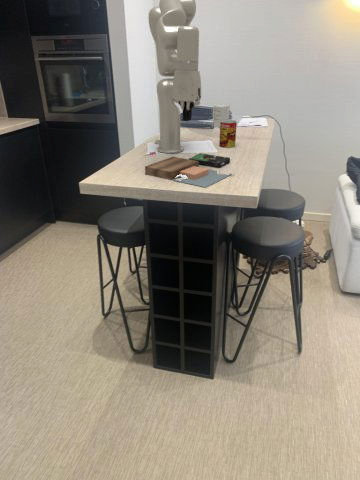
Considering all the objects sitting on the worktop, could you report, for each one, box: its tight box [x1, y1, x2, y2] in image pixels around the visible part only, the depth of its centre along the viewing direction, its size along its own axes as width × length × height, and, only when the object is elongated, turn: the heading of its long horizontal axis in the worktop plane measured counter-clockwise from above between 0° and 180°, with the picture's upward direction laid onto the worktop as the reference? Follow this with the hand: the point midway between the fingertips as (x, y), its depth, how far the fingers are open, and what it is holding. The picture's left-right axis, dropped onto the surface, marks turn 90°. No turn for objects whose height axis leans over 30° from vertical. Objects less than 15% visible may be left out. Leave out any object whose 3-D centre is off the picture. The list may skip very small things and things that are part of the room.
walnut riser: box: [144, 156, 200, 181], centre depth 147 cm, size 13×18×3 cm
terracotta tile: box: [180, 166, 210, 180], centre depth 141 cm, size 7×9×2 cm
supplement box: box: [212, 104, 230, 129], centre depth 229 cm, size 7×7×13 cm
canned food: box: [218, 119, 238, 149], centre depth 183 cm, size 8×8×12 cm
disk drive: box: [189, 153, 231, 169], centre depth 158 cm, size 10×3×15 cm
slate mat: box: [172, 169, 231, 189], centre depth 140 cm, size 14×19×1 cm
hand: (186, 120), depth 140 cm, fingers closed
